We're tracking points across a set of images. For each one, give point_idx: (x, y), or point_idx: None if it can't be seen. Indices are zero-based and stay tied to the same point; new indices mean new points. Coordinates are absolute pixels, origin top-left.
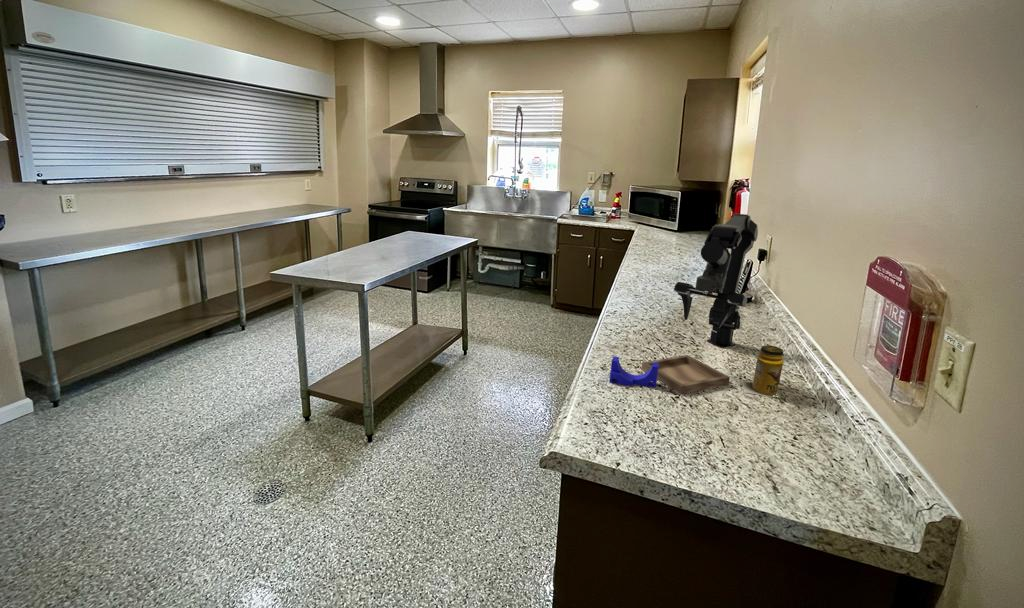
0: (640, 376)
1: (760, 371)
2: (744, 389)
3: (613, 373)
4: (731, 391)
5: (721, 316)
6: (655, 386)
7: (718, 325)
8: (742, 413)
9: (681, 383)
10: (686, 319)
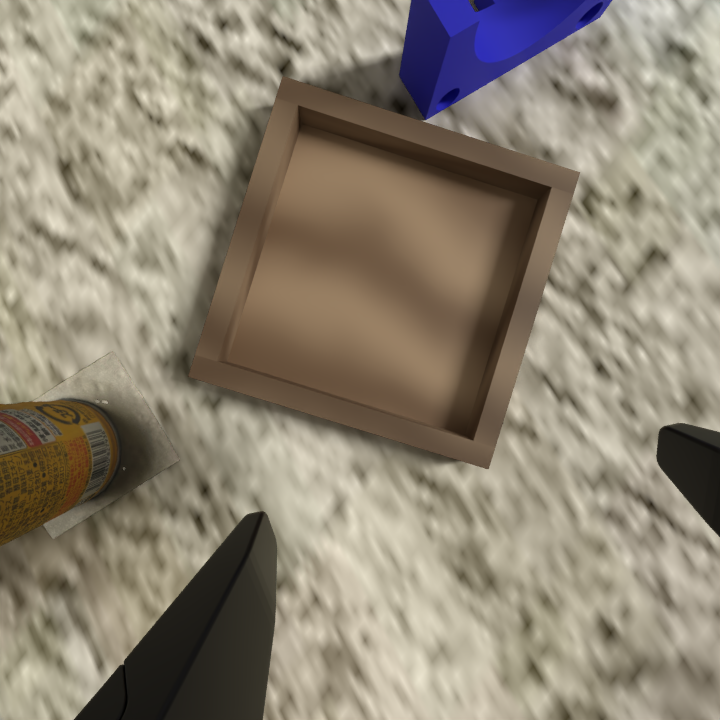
0: (487, 42)
1: None
2: (131, 382)
3: None
4: (161, 317)
5: (195, 638)
6: (400, 71)
7: (253, 522)
8: (30, 154)
9: (303, 107)
10: (663, 450)
